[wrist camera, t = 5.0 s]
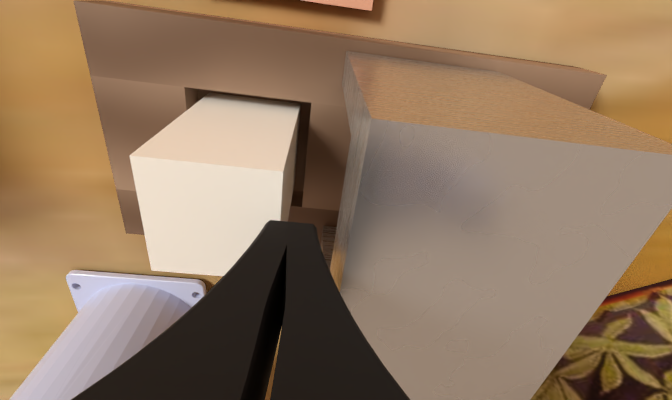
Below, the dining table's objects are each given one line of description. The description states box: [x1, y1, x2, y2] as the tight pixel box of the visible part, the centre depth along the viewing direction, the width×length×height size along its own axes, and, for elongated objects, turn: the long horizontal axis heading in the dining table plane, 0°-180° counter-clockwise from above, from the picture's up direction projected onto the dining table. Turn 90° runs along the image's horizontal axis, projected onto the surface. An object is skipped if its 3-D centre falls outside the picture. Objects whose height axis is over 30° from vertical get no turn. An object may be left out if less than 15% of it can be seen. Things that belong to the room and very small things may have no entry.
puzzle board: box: [74, 1, 607, 246], centre depth 16 cm, size 10×20×2 cm, turn 83°
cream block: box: [129, 93, 301, 276], centre depth 13 cm, size 4×4×7 cm
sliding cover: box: [321, 51, 672, 400], centre depth 12 cm, size 9×6×8 cm, turn 173°
